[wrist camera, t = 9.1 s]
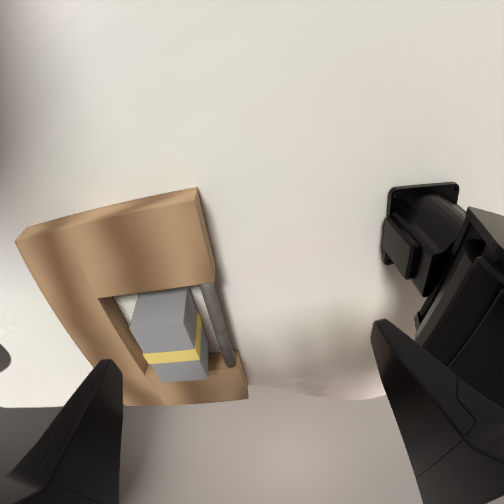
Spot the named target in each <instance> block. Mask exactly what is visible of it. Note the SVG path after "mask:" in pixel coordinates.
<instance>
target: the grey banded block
mask: <svg viewBox="0 0 504 504" xmlns="http://www.w3.org/2000/svg"><path fill="white" fill-rule="evenodd" d="M129 329H130V331H131V332H132V334H133V336H134V338H135V339H136V341H137V343H138V344H139V346H140V348H141V349H142V351H143V356H144V358H145V359H146V361H147V362H148V364H151V366H152V367H153V369H154V370H155V372H156V374H157V375H158V377H159V378H160V380H161V381H162V383H164V382H180V381H193V380H204V379H208V341H207V338H206V335H205V332H204V330H203V327H202V321H201V318H200V315H199V312H198V311H197V310H196V307H195V305H194V302H193V299H192V296H191V293H190V290H189V287H188V286H185V287H178V288H171V289H164V290H156V291H149V292H141V293H139V295H138V298H137V302H136V305H135V309H134V312H133V316H132V320H131V323H130V327H129Z"/></svg>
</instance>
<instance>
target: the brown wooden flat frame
mask: <svg viewBox="0 0 504 504" xmlns="http://www.w3.org/2000/svg"><path fill="white" fill-rule="evenodd" d="M15 243H16V246H17V248H18V250H19V252H20V254H21V256H22V257H23V259H24V261H25V263H26V265H27V267H28V269H29V271H30V272H31V274H32V276H33V278H34V280H35V281H36V283H37V285H38V287H39V288H40V290H41V292H42V293H43V295H44V297H45V298H46V300H47V302H48V303H49V305H50V306H51V308H52V310H53V311H54V313H55V314H56V316H57V317H58V319H59V320H60V322H61V323H62V325H63V326H64V328H65V329H66V331H67V332H68V334H69V335H70V337H71V338H72V339H73V341H74V342H75V344H76V345H77V346H78V348H79V349H80V350H81V352H82V353H83V355H84V356H85V357H86V359H87V360H88V361H89V362H90V364H91V365H92V366H93V368H94V367H95V366H96V365H97V364H98V362H99V361H100V360H102V359H112V360H113V361H114V362H115V364H116V365H117V366H118V368H119V369H120V370H121V372H122V374H123V403H124V404H125V405H126V406H158V405H183V404H199V403H212V402H223V401H232V400H242V399H248V388H247V381H246V377H245V374H244V370H243V367H242V363H241V360H240V356H239V353H238V350H236V351H233V349H232V345H231V342H230V339H229V335H228V332H227V328H226V325H225V321H224V318H223V314H222V311H221V307H220V303H219V300H218V296H217V292H216V289H215V285H214V282H215V261H214V257H213V253H212V249H211V245H210V240H209V236H208V232H207V228H206V224H205V219H204V215H203V211H202V206H201V202H200V198H199V193H198V189H197V187H196V188H190V189H185V190H180V191H175V192H170V193H165V194H160V195H155V196H150V197H145V198H141V199H136V200H132V201H127V202H123V203H118V204H114V205H110V206H106V207H102V208H97V209H93V210H89V211H85V212H82V213H78V214H74V215H70V216H66V217H63V218H59V219H55V220H52V221H48V222H45V223H41V224H38V225H34V226H31V227H27V228H26V229H25V230H24V231H23V232H22V234H21V235H20V236H19V237H18V238H17V239H16V240H15ZM192 285H200V288H201V291H202V294H203V298H204V301H205V304H206V307H207V310H208V313H209V317H210V320H211V323H212V326H213V329H214V332H215V335H216V338H217V341H218V344H219V347H220V350H221V353H212V354H208V379H204V380H193V381H180V382H164V383H162V381H161V380H160V378H159V377H158V375H157V374H156V372H155V370H154V369H153V367H152V366H151V364H148V362H147V361H146V359H145V358H144V356H143V351H142V349H141V348H140V346H139V344H138V343H137V341H136V339H135V338H134V336H133V334H132V332H131V331H130V329H129V327H128V325H127V323H126V321H125V319H124V318H123V316H122V314H121V312H120V310H119V308H118V306H117V305H116V303H115V301H114V299H113V297H112V296H118V295H126V294H134V293H141V292H149V291H156V290H164V289H171V288H178V287H185V286H192Z"/></svg>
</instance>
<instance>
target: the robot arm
mask: <svg viewBox="0 0 504 504" xmlns="http://www.w3.org/2000/svg"><path fill="white" fill-rule="evenodd" d="M453 188H454V189H453ZM397 192H398V193H397ZM395 193H397V195H396V196H395V197H394V195H395ZM458 194H459V185H458V184H456V183H455V182H445V183H432V184H421V185H410V186H399V187H393V188H392V189H390V191H389V195H388V208H387V216H386V218H385V222H384V232H383V241H382V248H383V255H382V260H383V262H384V263H385V264H386V265H391V264H395V266H396V267H397V268H398V270H399V271H400V273H401V274H402V276H403V277H404V278H405V279H406V280H409V279H411V281H412V282H413V284H414V285H415V286H416V288H417V289H418V291H419V292H420V294H421V295H422V297H427V296H428V297H427V299H426V301H425V303H424V305H423V306H422V308H421V310H420V311H419V312H417V314H416V316H415V318H414V320H415V326H416V336H415V341H414V340H412V339H411V338H410V337H409V336H407V335H406V334H405V333H404V332H402V331H401V330H400V329H399V328H397V327H396V326H395V325H393V324H392V323H391V322H390V321H388V320H387V319H380V320H376V321H374V323H373V327H372V332H371V344H372V348H373V351H374V355H375V359H376V362H377V366H378V370H379V374H380V377H381V381H382V384H383V387H384V389H385V392H386V394H387V397H388V400H389V402H390V405H391V408H392V410H393V413H394V416H395V418H396V421H397V424H398V426H399V429H400V432H401V435H402V438H403V441H404V444H405V447H406V450H407V453H408V455H409V459H410V461H411V465H412V468H413V471H414V474H415V477H416V481H417V484H418V487H419V491H420V494H421V498H422V501H423V504H504V216H502V215H499V214H495V213H492V212H488V211H484V210H481V209H477V208H473V207H469V206H468V208H467V211H465V210H464V209H462V208H461V207H460V206H459V205H457V200H458ZM389 257H390V258H389ZM388 258H389V259H388ZM122 422H123V374H122V372H121V370H120V369H119V368H118V366H117V365H116V364H115V362H114V361H113V360H112V359H102V360H100V361H99V362H98V364H97V365H96V366H95V367H94V369H93V370H92V371H91V372H90V374H89V375H88V376H87V377H86V379H85V380H84V381H83V382H82V384H81V385H80V386H79V387H78V389H77V390H76V391H75V392H74V394H73V395H72V396H71V398H70V399H69V400H68V401H67V403H66V404H65V405H64V407H63V408H62V409H61V411H60V412H59V413H58V414H57V416H56V417H55V418H54V420H53V421H52V423H51V424H50V425H49V428H47V429H46V430H45V432H44V433H43V434H42V436H41V437H40V438H39V440H38V441H37V442H36V443H35V444H34V446H33V447H32V448H31V449H30V450H29V451H28V453H27V454H26V455H25V456H24V457H23V458H22V459H21V460H20V462H19V463H18V464H17V465H16V466H15V467H14V469H12V470H11V471H10V472H9V473H7V474H5V475H3V476H0V504H119V470H120V450H121V435H122Z"/></svg>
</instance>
